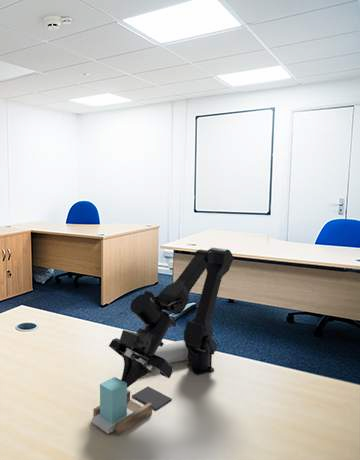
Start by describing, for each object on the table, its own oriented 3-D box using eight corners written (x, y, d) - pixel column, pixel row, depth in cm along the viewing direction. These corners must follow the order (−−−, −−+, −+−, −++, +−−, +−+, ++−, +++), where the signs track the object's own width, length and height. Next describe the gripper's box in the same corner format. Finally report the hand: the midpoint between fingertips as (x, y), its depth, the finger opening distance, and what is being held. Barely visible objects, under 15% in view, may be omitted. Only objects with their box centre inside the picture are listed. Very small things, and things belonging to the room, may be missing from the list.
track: (127, 398, 94) (127, 390, 93) (152, 413, 88) (152, 403, 88) (93, 418, 85) (93, 408, 85) (118, 435, 79) (118, 425, 79)
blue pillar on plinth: (118, 407, 89) (118, 373, 88) (134, 417, 85) (134, 381, 84) (92, 422, 83) (91, 385, 82) (108, 434, 79) (108, 395, 78)
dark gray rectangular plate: (147, 387, 99) (147, 386, 99) (171, 400, 94) (171, 398, 94) (132, 396, 95) (132, 395, 95) (156, 410, 89) (156, 408, 89)
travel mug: (141, 368, 105) (199, 355, 114) (136, 346, 108) (193, 336, 117) (135, 373, 110) (191, 361, 119) (131, 352, 113) (186, 342, 122)
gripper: (114, 308, 94) (79, 362, 86) (165, 326, 82) (130, 391, 75) (135, 328, 101) (104, 380, 93) (186, 348, 89) (155, 409, 81)
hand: (121, 389), depth 85 cm, fingers closed, pressing on blue pillar on plinth
